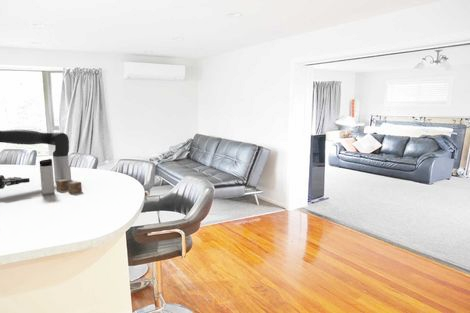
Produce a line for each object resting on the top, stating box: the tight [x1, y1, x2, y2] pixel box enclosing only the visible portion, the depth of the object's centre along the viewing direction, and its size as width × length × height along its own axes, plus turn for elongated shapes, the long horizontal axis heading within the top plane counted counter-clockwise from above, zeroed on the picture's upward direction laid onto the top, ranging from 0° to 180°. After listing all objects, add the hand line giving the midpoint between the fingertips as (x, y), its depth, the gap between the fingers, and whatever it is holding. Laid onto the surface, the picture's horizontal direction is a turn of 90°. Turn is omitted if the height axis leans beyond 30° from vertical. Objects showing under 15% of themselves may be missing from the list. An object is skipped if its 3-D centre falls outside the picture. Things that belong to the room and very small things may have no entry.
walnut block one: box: [68, 181, 83, 195], centre depth 190 cm, size 5×5×6 cm
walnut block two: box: [55, 179, 70, 192], centre depth 196 cm, size 5×5×6 cm
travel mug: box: [39, 158, 55, 196], centre depth 186 cm, size 6×7×20 cm
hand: (29, 180), depth 184 cm, fingers closed
